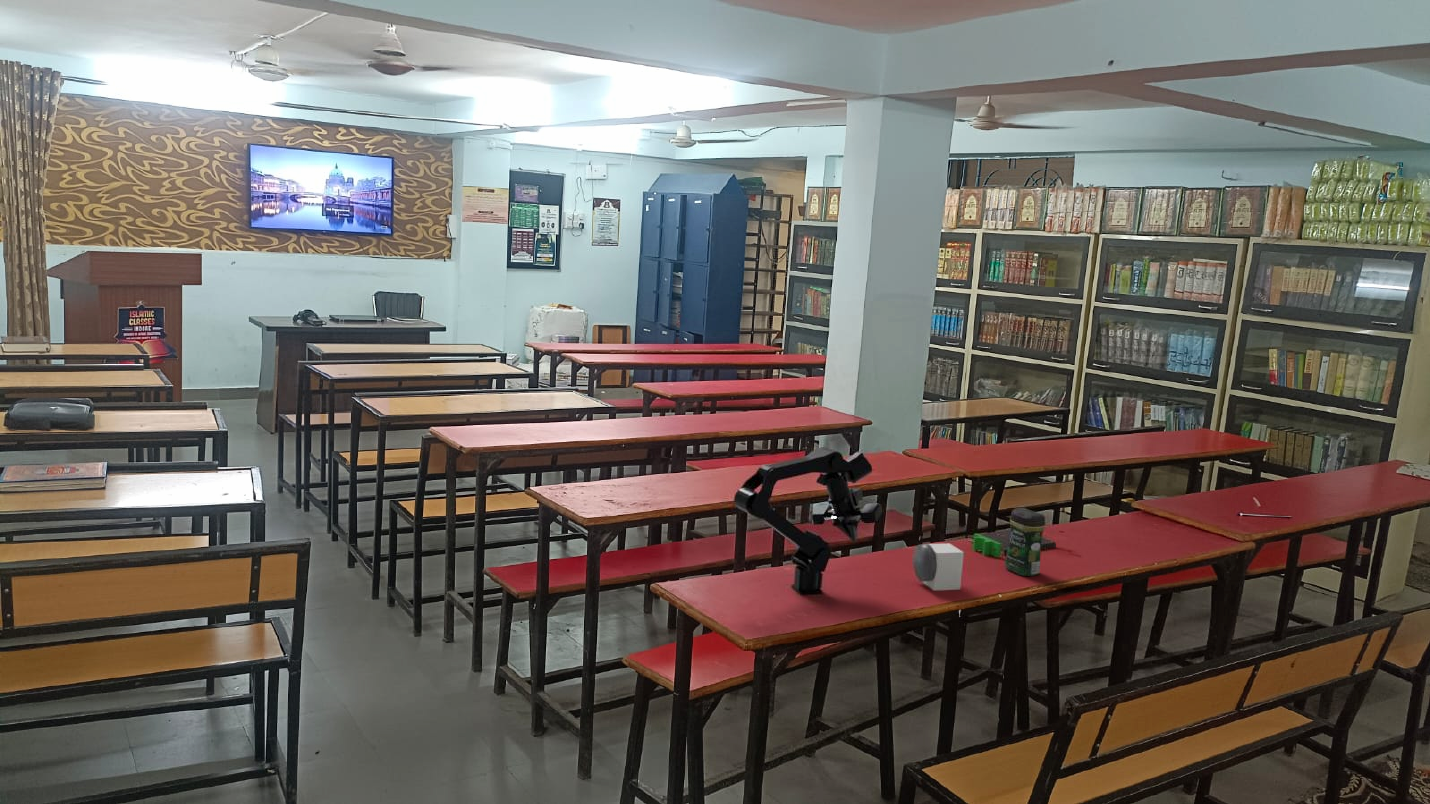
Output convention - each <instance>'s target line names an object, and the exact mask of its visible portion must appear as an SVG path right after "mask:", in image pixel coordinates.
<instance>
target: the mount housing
mask: <svg viewBox="0 0 1430 804" xmlns="http://www.w3.org/2000/svg"><path fill="white" fill-rule="evenodd" d="M927 544H928V545H930V546H931V547H932V548H933V550H934V552H935V555H936V561H937V569H936V574H935V577H934V579H933V580H932V581H921V583H923V584H925V585H926V586H927V587H928V588H929V589H931V590H932V591H950V590H951V591H952V590H953V591H954V590H961V586H962V585H961V584H962V583H961V582H962V574H963V565H964V554H965V553H964V551H963V550H961V549H959V548H958V547H956V546H954V545H953V544H952V543H927Z"/></svg>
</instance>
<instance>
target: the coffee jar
mask: <svg viewBox="0 0 1430 804" xmlns="http://www.w3.org/2000/svg"><path fill="white" fill-rule="evenodd" d="M1009 523H1010V530H1011V533H1010V540H1009V546H1008V551H1007V555H1005V556H1006V558H1005V565H1004V566H1005V568H1006V570H1009V571H1011V572H1013V573H1015V574H1017V575H1019V576H1023V577H1024V576H1025V577H1026V576H1028V577H1035V576H1037V575H1038V574H1040V573H1041V572H1040V571H1041V555H1042V554H1041V553H1042V552H1041V551H1042V550H1041V540H1042V537H1043V532H1044V530H1045V528H1046V518H1045V515H1044V514H1043V513H1040V512H1039V513H1038V512H1036V511H1033V510H1031V509H1028V508H1026V507H1018V508H1013V510H1012V511H1011V515H1010V519H1009Z"/></svg>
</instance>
